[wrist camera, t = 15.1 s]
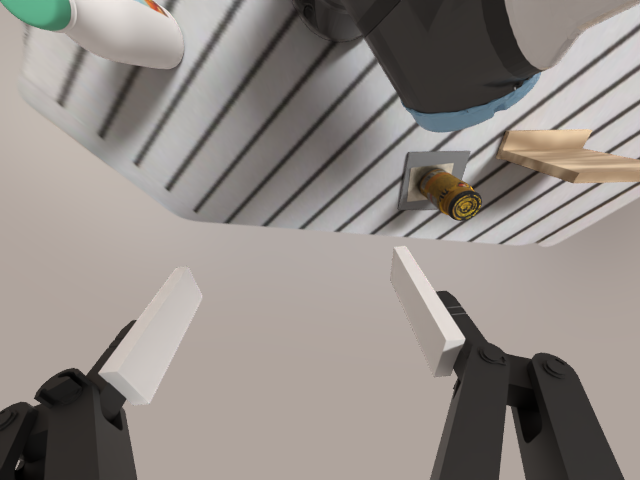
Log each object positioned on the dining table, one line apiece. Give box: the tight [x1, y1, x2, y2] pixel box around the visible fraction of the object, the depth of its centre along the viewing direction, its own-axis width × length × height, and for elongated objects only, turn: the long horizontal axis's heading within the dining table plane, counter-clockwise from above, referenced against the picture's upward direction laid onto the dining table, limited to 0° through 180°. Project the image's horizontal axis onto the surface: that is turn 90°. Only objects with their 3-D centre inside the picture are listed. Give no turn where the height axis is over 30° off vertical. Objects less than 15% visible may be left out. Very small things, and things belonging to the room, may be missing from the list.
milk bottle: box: [0, 0, 184, 69], centre depth 26 cm, size 8×8×20 cm
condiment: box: [407, 163, 482, 221], centre depth 43 cm, size 7×8×12 cm
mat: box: [398, 151, 471, 210], centre depth 49 cm, size 12×12×1 cm
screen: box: [496, 129, 640, 183], centre depth 39 cm, size 5×16×16 cm, turn 90°
